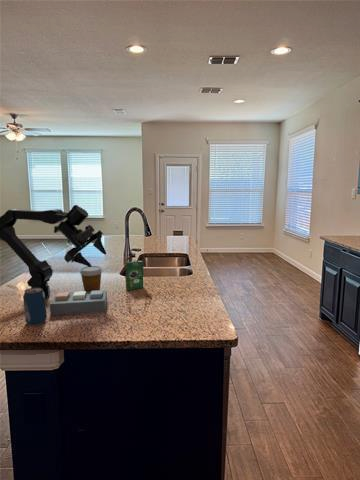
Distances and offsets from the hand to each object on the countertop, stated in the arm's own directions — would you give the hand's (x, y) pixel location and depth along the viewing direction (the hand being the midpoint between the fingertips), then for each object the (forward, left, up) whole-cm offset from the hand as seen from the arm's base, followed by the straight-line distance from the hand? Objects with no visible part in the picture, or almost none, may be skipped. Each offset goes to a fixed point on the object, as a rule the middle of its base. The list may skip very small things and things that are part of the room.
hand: (98, 260), depth 131 cm
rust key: (-14, -8, -15) cm, 22 cm away
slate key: (-1, -8, -15) cm, 17 cm away
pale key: (-7, -8, -15) cm, 19 cm away
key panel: (-7, -8, -17) cm, 20 cm away
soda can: (-21, -19, -18) cm, 33 cm away
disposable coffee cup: (-4, +7, -18) cm, 20 cm away
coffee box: (+15, +12, -18) cm, 26 cm away
